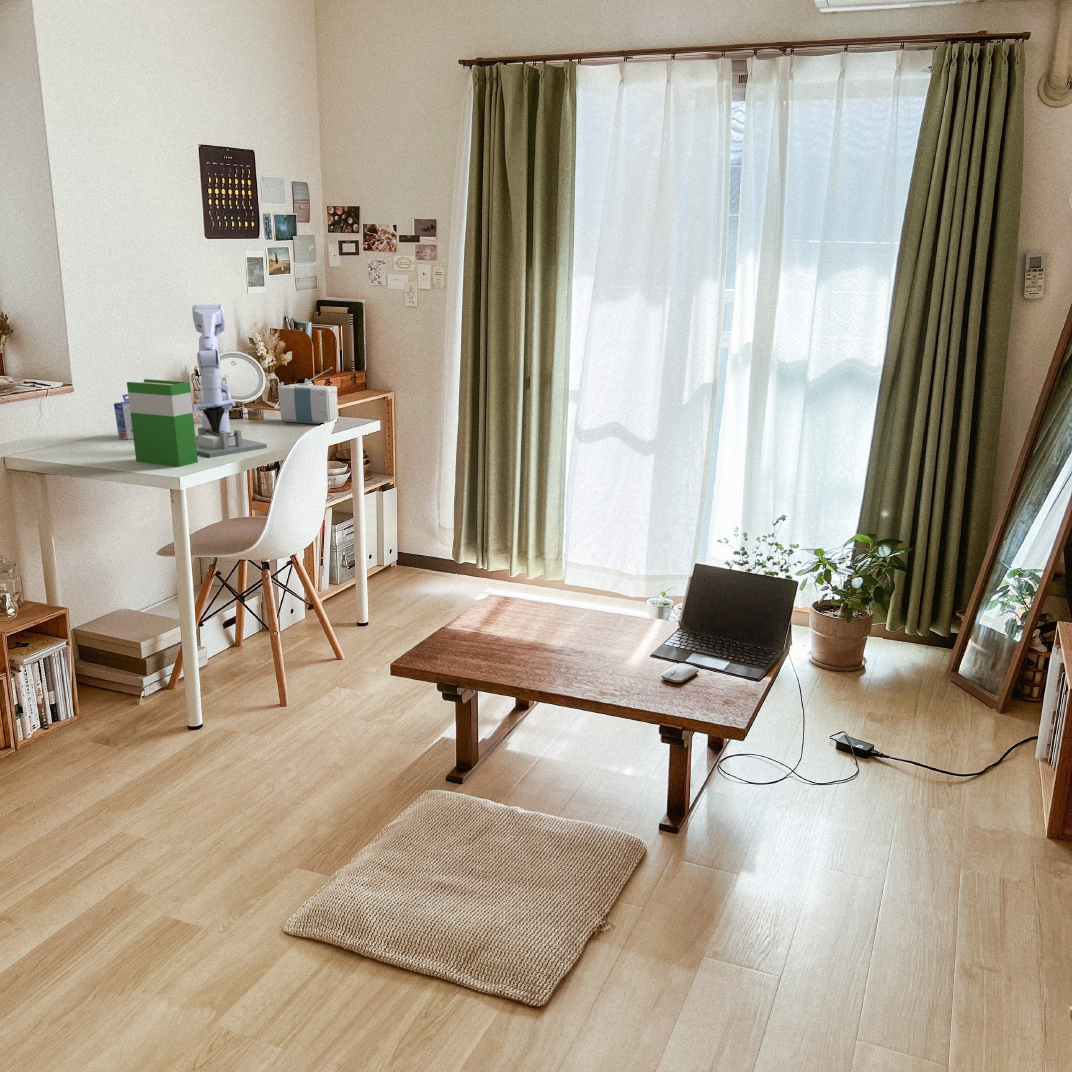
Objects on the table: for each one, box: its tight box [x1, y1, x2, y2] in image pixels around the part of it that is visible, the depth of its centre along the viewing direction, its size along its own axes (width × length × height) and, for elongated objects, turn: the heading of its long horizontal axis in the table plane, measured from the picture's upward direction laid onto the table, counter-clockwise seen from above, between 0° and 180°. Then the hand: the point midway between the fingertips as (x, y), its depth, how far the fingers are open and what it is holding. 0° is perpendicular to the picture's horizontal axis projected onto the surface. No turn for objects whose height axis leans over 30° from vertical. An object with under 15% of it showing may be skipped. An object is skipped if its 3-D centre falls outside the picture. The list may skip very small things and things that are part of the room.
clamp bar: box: [205, 428, 236, 437], centre depth 329 cm, size 14×3×1 cm, turn 47°
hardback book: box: [126, 378, 199, 468], centre depth 307 cm, size 18×7×24 cm, turn 63°
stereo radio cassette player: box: [278, 366, 339, 425], centre depth 372 cm, size 21×8×20 cm, turn 67°
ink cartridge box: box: [113, 393, 134, 440], centre depth 349 cm, size 10×6×14 cm, turn 146°
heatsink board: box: [196, 426, 268, 458], centre depth 330 cm, size 22×20×6 cm
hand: (215, 430), depth 330 cm, fingers closed
